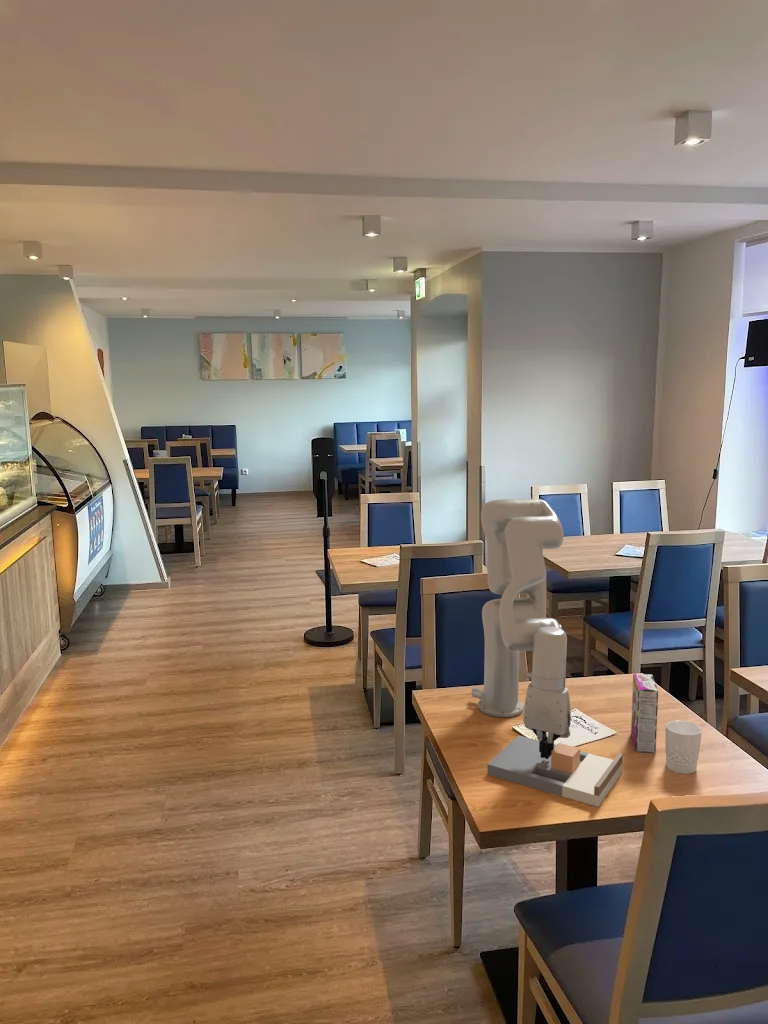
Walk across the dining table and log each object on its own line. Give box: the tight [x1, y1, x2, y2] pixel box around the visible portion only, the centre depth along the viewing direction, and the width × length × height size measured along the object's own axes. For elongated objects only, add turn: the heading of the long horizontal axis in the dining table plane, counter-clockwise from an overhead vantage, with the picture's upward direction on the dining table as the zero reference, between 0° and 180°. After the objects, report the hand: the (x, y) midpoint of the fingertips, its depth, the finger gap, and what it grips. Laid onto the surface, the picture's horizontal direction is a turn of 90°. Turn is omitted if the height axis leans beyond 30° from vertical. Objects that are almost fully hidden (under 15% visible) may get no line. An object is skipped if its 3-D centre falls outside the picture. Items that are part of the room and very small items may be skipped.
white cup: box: [664, 719, 702, 775], centre depth 177 cm, size 8×8×10 cm
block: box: [551, 742, 581, 773], centre depth 173 cm, size 5×5×4 cm
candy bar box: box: [630, 672, 659, 754], centre depth 189 cm, size 11×5×16 cm, turn 168°
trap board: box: [486, 735, 624, 808], centre depth 175 cm, size 26×18×4 cm
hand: (546, 756), depth 176 cm, fingers closed
